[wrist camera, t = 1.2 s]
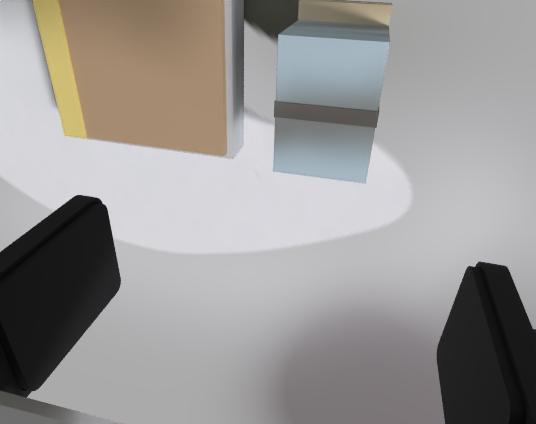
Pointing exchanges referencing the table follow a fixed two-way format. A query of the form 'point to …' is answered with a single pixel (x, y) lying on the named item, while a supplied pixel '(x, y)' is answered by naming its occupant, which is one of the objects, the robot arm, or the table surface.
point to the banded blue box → (330, 88)
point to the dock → (148, 71)
